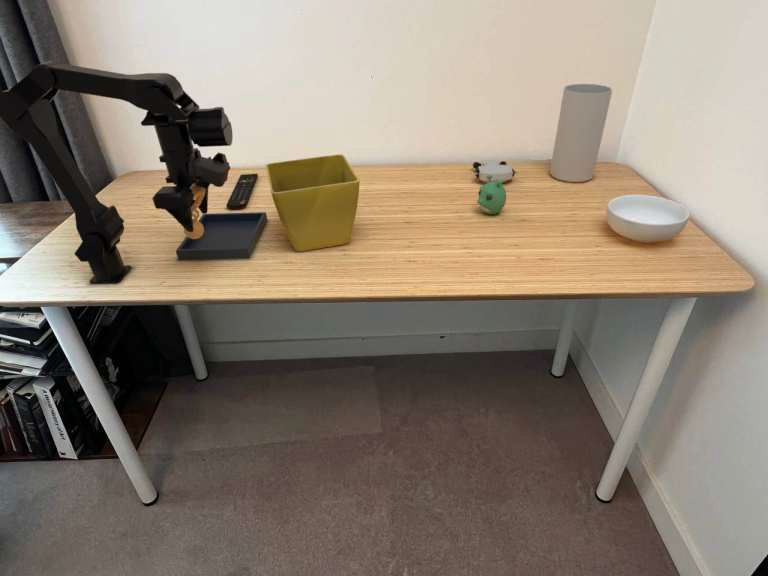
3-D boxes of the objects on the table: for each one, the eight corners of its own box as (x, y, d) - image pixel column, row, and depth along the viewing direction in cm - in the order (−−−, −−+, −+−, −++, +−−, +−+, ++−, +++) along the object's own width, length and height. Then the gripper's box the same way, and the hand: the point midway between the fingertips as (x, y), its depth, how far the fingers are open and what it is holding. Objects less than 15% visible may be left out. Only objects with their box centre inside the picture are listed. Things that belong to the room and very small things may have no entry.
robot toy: (468, 172, 153) (475, 186, 140) (469, 158, 151) (476, 171, 138) (506, 171, 152) (517, 185, 139) (508, 157, 150) (519, 170, 137)
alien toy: (469, 211, 127) (472, 175, 121) (493, 205, 130) (496, 169, 124) (486, 221, 122) (489, 184, 116) (510, 215, 124) (514, 178, 119)
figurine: (194, 229, 105) (182, 176, 98) (221, 230, 104) (210, 177, 98) (178, 246, 98) (164, 191, 91) (207, 247, 97) (195, 191, 91)
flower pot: (283, 262, 108) (271, 192, 99) (276, 226, 123) (265, 162, 114) (364, 248, 112) (360, 180, 103) (348, 215, 127) (343, 153, 118)
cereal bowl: (640, 214, 122) (647, 188, 118) (696, 243, 109) (707, 215, 105) (586, 227, 117) (592, 200, 113) (638, 259, 104) (647, 230, 100)
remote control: (258, 177, 152) (257, 173, 152) (246, 209, 133) (245, 204, 132) (241, 178, 152) (240, 174, 151) (226, 210, 132) (225, 206, 132)
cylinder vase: (541, 171, 149) (555, 86, 135) (575, 166, 152) (592, 82, 138) (565, 185, 139) (582, 95, 125) (601, 179, 142) (622, 90, 128)
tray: (249, 258, 110) (247, 249, 109) (178, 260, 110) (175, 250, 109) (267, 220, 126) (266, 212, 125) (205, 222, 127) (203, 213, 125)
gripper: (203, 163, 82) (223, 243, 91) (233, 131, 98) (247, 202, 106) (139, 165, 83) (165, 244, 91) (179, 133, 98) (198, 203, 107)
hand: (198, 222), depth 99 cm, fingers closed on figurine, 8 cm apart
